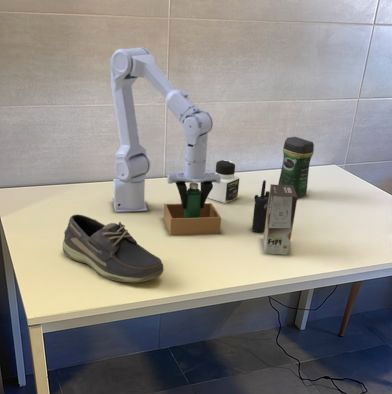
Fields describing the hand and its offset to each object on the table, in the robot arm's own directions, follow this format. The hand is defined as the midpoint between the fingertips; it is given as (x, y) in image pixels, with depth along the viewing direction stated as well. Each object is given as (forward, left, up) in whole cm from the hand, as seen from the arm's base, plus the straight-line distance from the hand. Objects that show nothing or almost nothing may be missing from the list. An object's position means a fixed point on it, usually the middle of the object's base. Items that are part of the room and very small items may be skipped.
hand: (192, 207), depth 152 cm
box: (0, 0, -6) cm, 6 cm away
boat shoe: (-25, -22, -6) cm, 34 cm away
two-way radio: (+19, -3, -6) cm, 20 cm away
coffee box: (+20, -15, -6) cm, 26 cm away
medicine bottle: (+15, +22, -6) cm, 27 cm away
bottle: (0, 0, -3) cm, 3 cm away
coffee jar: (+40, +25, -6) cm, 47 cm away
